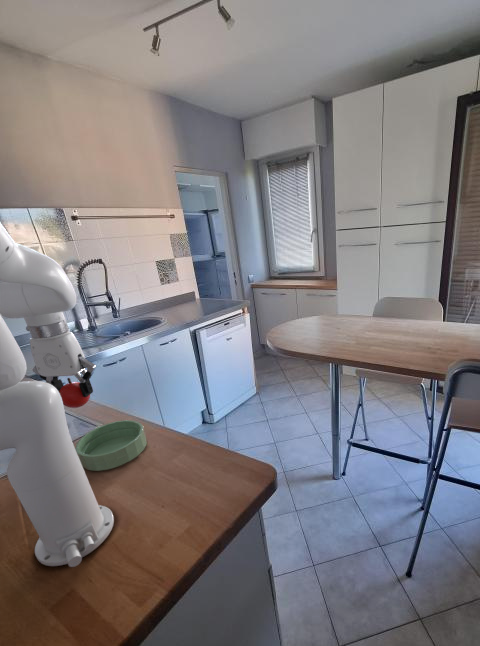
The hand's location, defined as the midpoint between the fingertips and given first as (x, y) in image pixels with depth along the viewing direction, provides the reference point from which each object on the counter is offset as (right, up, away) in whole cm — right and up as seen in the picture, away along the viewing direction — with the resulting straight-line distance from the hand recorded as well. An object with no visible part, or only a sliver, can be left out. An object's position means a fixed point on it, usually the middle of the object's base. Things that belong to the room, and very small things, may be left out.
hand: (74, 394), depth 87 cm
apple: (0, -3, +1) cm, 3 cm away
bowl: (+11, -15, -1) cm, 19 cm away
